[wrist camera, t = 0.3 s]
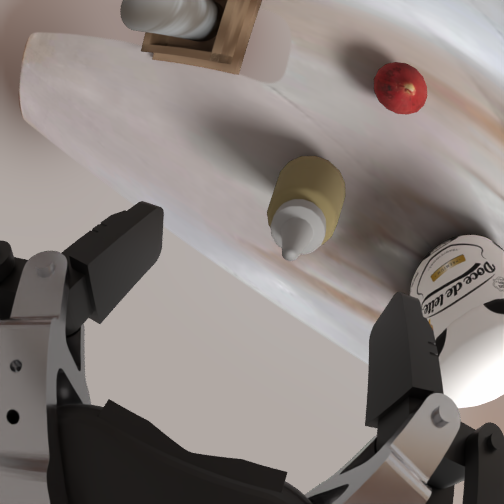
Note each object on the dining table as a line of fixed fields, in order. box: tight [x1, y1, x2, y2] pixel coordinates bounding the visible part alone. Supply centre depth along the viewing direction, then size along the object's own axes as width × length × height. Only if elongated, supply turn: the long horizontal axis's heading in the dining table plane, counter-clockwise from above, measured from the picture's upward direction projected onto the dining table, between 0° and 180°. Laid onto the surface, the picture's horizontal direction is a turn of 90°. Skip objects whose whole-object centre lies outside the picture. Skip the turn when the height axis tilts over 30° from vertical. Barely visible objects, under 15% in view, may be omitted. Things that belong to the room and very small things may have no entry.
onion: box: [374, 62, 427, 114], centre depth 24 cm, size 6×6×8 cm
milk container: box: [410, 235, 504, 408], centre depth 29 cm, size 17×17×18 cm
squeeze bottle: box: [267, 156, 345, 261], centre depth 29 cm, size 8×8×18 cm
